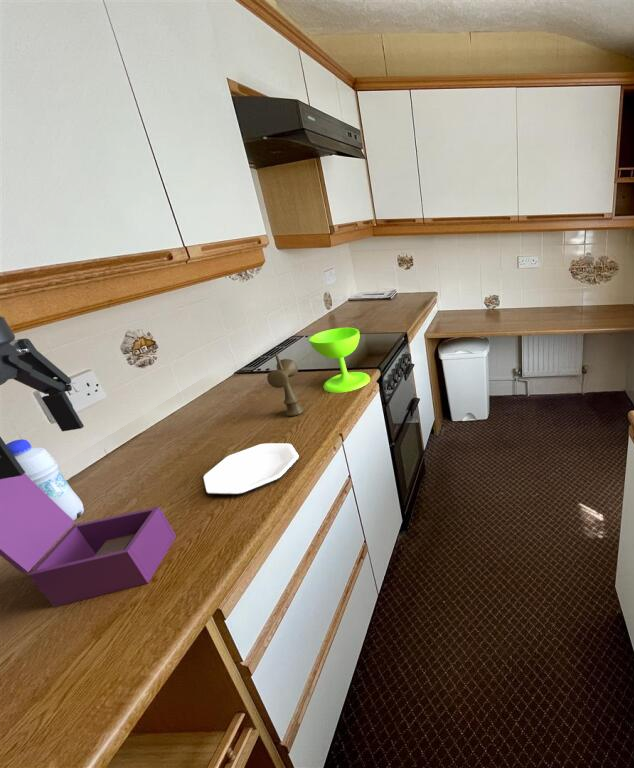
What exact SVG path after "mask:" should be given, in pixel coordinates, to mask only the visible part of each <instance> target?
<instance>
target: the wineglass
mask: <svg viewBox="0 0 634 768" xmlns="http://www.w3.org/2000/svg"><path fill="white" fill-rule="evenodd" d="M360 335H361V334H360V330H359V329H357V328H356V327H337V328H331V329H327V330H322V331H319V332H317V333H315V334H313V335H312V336H309V339H308V340H309V343H310V345H311V347H312V348H313V349H314V350H315V352H316V353H318V354H319V355H321V356H323V357H325V358H329V359H337V361H338V364H339V368H340V374H336V375H334V376H332V377H331V378H329V379H327V380H326V381H325V382H324V384H323V390H324V391H325V392H327V393H331V394H341V393H347V392H352V391H355V390H358V389H360V388H363V387H365V386H366V385H368V384H369V383H370V382H371V377H370V375H369V374H367V373H365V372H363V371H362V372H361V371H349V372H348V369H347V365H346V362H345V357H347V356H349V355H351V354H352V353H353V352H354V351H355V350H356V349H357V347H358V346H359V343H360V337H361V336H360Z"/></svg>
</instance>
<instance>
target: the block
mask: <svg viewBox="0 0 634 768" xmlns="http://www.w3.org/2000/svg"><path fill="white" fill-rule="evenodd" d="M134 536H135V534H133V535H128V536H124V537H119V538H115V539H111V540H107V541H106V542H105V543H104V544H103V546H102V547H101V548H100V549H99V551H98V552H97V553H96V554H95V556H99V555H104V554H108V553H112V552H117V551H121V550H125V548H126V547H127V546H128V544H129V543H130V541H131V540H132V539H133V537H134ZM95 556H94V557H95Z"/></svg>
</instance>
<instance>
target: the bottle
mask: <svg viewBox="0 0 634 768" xmlns="http://www.w3.org/2000/svg"><path fill="white" fill-rule="evenodd" d="M5 444H6V445H7V447H8V448H9V450H10V451H11V453H12V454H13V455H14V457H15V458H16V460H17V461H18V463H19V464H20V465H21V467H22V468H23V470H24V471H25V473H24V474H25V475H27V476H28V477H29V478H30V479H31V480H32V481H33V482H34V483H35V484H36V485H37V486H38V487H39V488H40V489H41V490H42V491H43V492H44V493H45V494H46V495H47V496H48V497H49V498H51V499H52V500H53V501H54V502H55V503H56V504H57V505H58V506H59V507H60V508H61V509H62V510H63V511H64V512H65V513H66V514H67V515H68V516H69V517H70V518H71V519H72V520H74V521H76V520H77V517H80V516H82V515H83V514H84V512H85V508H84V504H83V502H82V499H80V497H79V496H78V495H77V494H76V493H75V491H74V490H73V489H72V488H71V485H70V484H69V483H68V481H67V480H66V478H65V477H64V475H63V473H61V471H60V469H59V464H58V463H57V461H56V459H55V458H54V457H53V456H52V455H51V454H50V453H49V452H48V451H47V450H46V449H45V448H44V447H32V444H31V443H30V442H29V440H27V439H24V438H23V439H15V440H12V441H9V442H8V443H5Z"/></svg>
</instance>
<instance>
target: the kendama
mask: <svg viewBox="0 0 634 768" xmlns="http://www.w3.org/2000/svg"><path fill="white" fill-rule="evenodd" d="M274 356H275V360H276V365H275V367H276V369H275V370H271V371H269V372H268V373H267V376H266V378H267V383H268V384H269V385H270V386H271V387H272V388H275V389H281V388H283V390H284V400H283V404H284V405H285V406H286V413H285V414H286V416H287V417H295V416H299V415H301V414H303V413H304V411H305V407H303V406H302V405H301V404H300V396H297V395H296V394H295V392H294V390H293V388H292V386H291V385H290V382H289V378H292V377H295V376H296V375H297V374H298V372H299V367H298V365H297V363H296V362H295V361H294V360H292V359H290V358H283V359H281V358H280V356H279V354H277V353H275V355H274Z"/></svg>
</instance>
